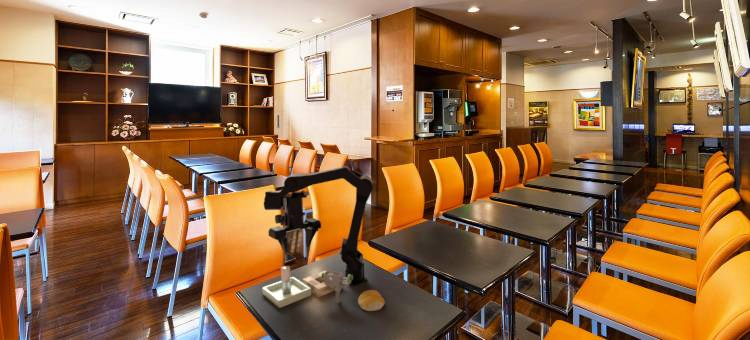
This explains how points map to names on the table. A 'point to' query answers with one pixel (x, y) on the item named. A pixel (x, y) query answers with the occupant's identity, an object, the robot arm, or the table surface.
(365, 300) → the bread roll
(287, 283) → the pin
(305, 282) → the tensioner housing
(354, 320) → the table surface
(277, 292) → the parts tray
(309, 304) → the table surface
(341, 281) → the mechanical component
